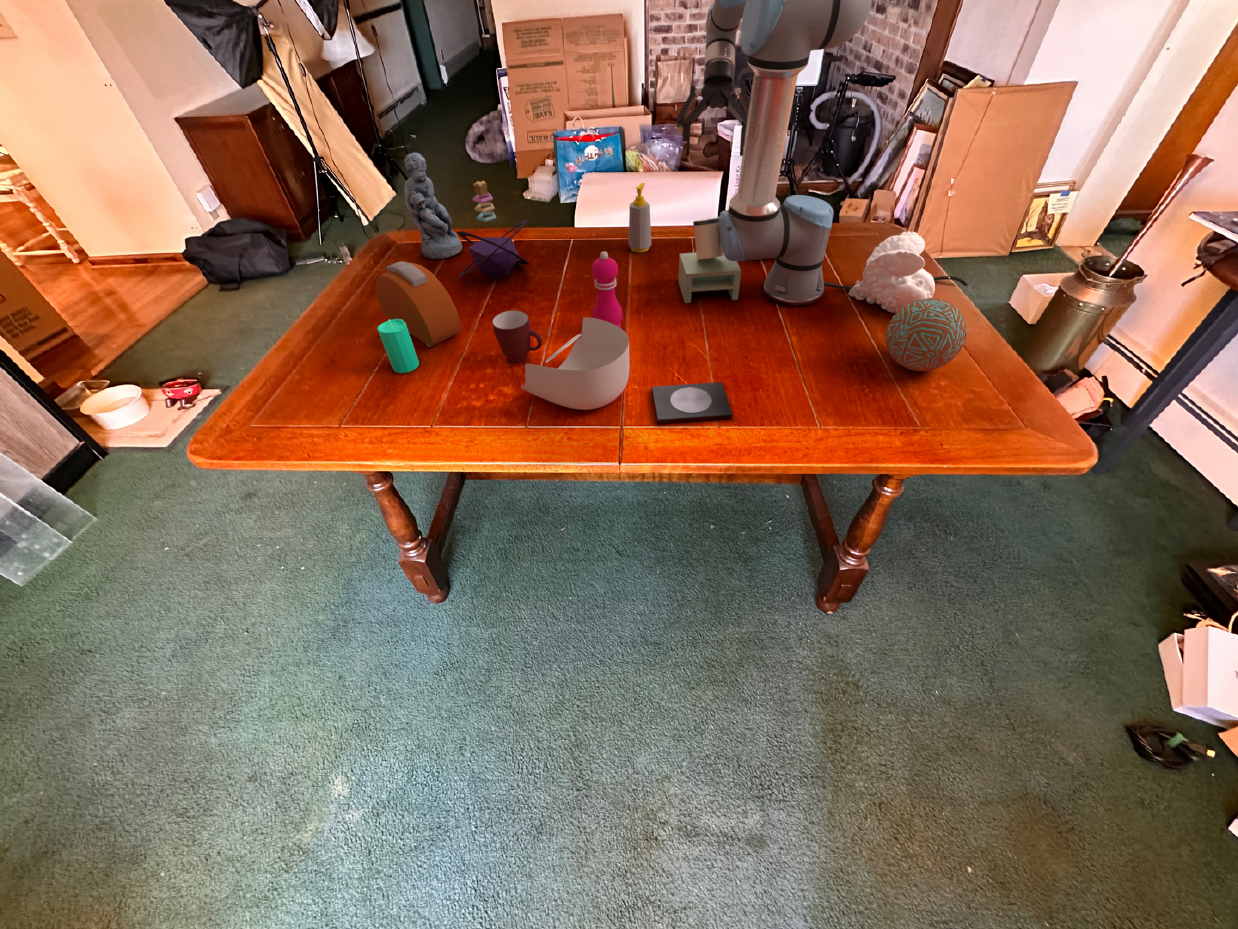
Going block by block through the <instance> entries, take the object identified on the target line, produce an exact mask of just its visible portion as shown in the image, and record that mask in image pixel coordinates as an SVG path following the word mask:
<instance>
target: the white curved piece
mask: <svg viewBox="0 0 1238 929" xmlns="http://www.w3.org/2000/svg"><path fill="white" fill-rule="evenodd" d="M573 343H574V344H573ZM571 345H572V348H571V349H570V352H569V353H568V355H567V356H566V358H565V359H564V361H563V362H562V363H561V364H560V365H559V367H557V368H556V367H550V366H545V365H540V364H534V363H525V364H524V365H525V367H524V368H525V369H524V370H525V372H524V373H525V377H524V378H525V380H524V381H525V384H522V385H521V386H520V388H521V390H523V391H526V392H528V393H530V394H532V395H534V396H535V397H539V398H541V399H543V400H545V401H548V402H550V403H552V404H555V405H558V406H562V407H565V408H569V409H574V410H580V411H581V410H583V411H586V410H595V409H599V408H603V407H604V406H607V405H609V404H610V403H612V402H613V401H615V400H616V399H618V398H619V396H620V395H621V394H622V393H623V392H624V390H625V389H626V386H627V384H628V383H629V382H628V381H629V377H630V366H631V362H630V360H631V359H630V338H629V335H628V334H627V332H626V331H625V330H623V328H622V327H621V328H620V327H618V326H616V325H614V324H612V323H610V322H607V321H604V320H600V319H596V318H593V317H587V316H586V317H585V316H584V317H583V318H582V326H581V333H579V334H575V336H573V337H572V338H571V339H569V340H568V341H567V342H566V343H565V344H564V345H562V346H561V347H560V348H559V349H558V350H556V351H554V353H553V354H552V355H550V356H549V357H548V358H547V359H546V360H545V362H544V363H545V364H547V363H549V362H550V361H552V360H553V359H555V357H557V356H558V355H559V354H560V353H561V352H562V351H563V350H565V349H567V348H568V347H569V346H571Z"/></svg>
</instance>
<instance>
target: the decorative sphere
mask: <svg viewBox="0 0 1238 929" xmlns="http://www.w3.org/2000/svg"><path fill="white" fill-rule="evenodd" d="M967 326H968V325H967V322H966V319H965V317H964V315H963V313H962V312H961V310H959V308H958V307H957V306H956V305H954V304H953V303H951V302H949V301H947V300H945V299H941V298H935V297H933V298H925V299H919V300H916V301H913V302H911V303H909V304H907V305H905V306H904V307H902V308H901V309H900V310H899V311H898V312H897V313H894V314H893V316H892V318H891V319H890V320H889V323H888V325H887V328H886V330H885V346H886V349H887V352H888V354H889V356H890V357H891V358H892V359H893V361H894V362H895V363H896V364H898V365H899V366H902V367H903V368H905V369H907V370H910V371H913V372H914V371H915V372H929V371H934V370H937V369H940V368H942V367H943V366H945V365H947V364H949V363H950V362H952V361H953V360H954V359H955V358H956V357H957V356H958V355H959V354H960V352H961V351H962V349H963V347H964V345H965V343H966V339H967V335H968V328H967Z"/></svg>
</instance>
